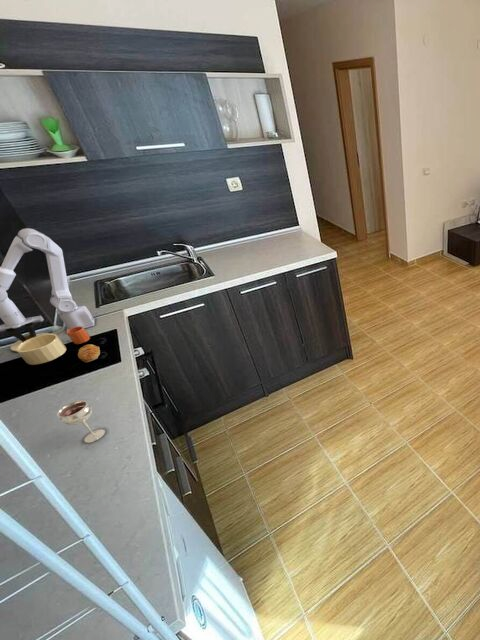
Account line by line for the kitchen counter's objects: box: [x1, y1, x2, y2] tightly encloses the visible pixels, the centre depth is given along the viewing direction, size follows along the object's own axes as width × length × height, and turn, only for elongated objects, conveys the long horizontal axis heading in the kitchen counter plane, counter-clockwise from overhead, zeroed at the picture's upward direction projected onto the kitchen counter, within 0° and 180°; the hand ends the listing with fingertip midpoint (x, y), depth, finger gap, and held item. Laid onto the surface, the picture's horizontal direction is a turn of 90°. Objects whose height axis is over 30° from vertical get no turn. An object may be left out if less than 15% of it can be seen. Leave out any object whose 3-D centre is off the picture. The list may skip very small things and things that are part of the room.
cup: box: [66, 326, 91, 345], centre depth 148 cm, size 5×6×6 cm
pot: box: [15, 333, 67, 366], centre depth 139 cm, size 12×12×6 cm
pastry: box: [77, 343, 101, 364], centre depth 138 cm, size 9×7×4 cm
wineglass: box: [56, 399, 106, 444], centre depth 103 cm, size 7×7×12 cm
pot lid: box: [9, 332, 51, 353], centre depth 146 cm, size 13×13×4 cm
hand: (30, 340), depth 147 cm, fingers closed on pot lid, 3 cm apart
